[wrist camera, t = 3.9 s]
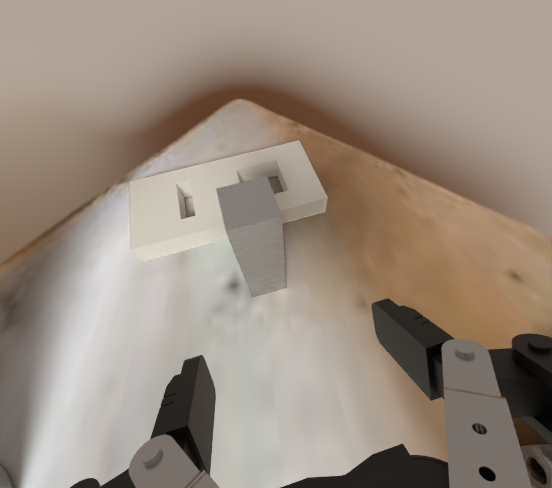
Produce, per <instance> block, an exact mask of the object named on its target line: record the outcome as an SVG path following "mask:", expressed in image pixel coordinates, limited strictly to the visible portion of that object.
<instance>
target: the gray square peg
mask: <svg viewBox="0 0 552 488" xmlns="http://www.w3.org/2000/svg"><path fill="white" fill-rule="evenodd" d="M216 191H217V195H218V199H219V204H220V208H221V212H222V217H223V221H224V225H225V230H226V233H227V235H228V238H229V240H230V243H231V245H232V248H233V250H234V253H235V255H236V258H237V260H238V263H239V265H240V268H241V270H242V273H243V275H244V278H245V280H246V283H247V285H248V288H249V290H250V293H251V295H252V298H253V297H256V296H260V295H263V294H266V293H270V292H273V291H277V290H280V289H283V288H286V274H285V257H284V241H283V224H282V215H281V212H280V209H279V207H278V204H277V201H276V199H275V196H274V193H273V190H272V188H271V185H270V182H269V180H268V177H267V176H264V177H260V178H256V179H252V180H248V181H244V182H240V183H236V184H232V185H228V186H224V187H220V188H216Z"/></svg>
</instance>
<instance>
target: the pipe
mask: <svg viewBox="0 0 552 488" xmlns="http://www.w3.org/2000/svg"><path fill="white" fill-rule="evenodd" d="M520 448H521V452H522V455H523V459H524V462H525V465H526V469H527V472H528V476H529V479H530V483H531V486H532V487H533V488H552V446H551V445H550V444H542V445H523V446H520Z"/></svg>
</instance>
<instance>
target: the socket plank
mask: <svg viewBox="0 0 552 488" xmlns="http://www.w3.org/2000/svg"><path fill="white" fill-rule="evenodd" d="M264 176H267V177H268V178H270V177H274V176H278V179H279V181H280V184H281V186H282V189H283V192H279V193H276V194H274V196H275V199H276V201H277V204H278V207H279V209H280V212H281V215H282V224H284V223H288V222H291V221H295V220H299V219H302V218H306V217H310V216H314V215H317V214H321V213H325V211H326V205H327V199H328V197H327V195H326V193H325V191H324V189H323V187H322V185H321V183H320V181H319V179H318V177H317V175H316V173H315V171H314V169H313V167H312V165H311V163H310V161H309V159H308V157H307V155H306V153H305V151H304V149H303V147H302V145H301V143H300V141H299V140H298V141H294V142H290V143H286V144H282V145H278V146H273V147H269V148H265V149H261V150H257V151H253V152H249V153H245V154H240V155H236V156H232V157H228V158H224V159H220V160H216V161H212V162H207V163H203V164H199V165H195V166H191V167H187V168H183V169H179V170H174V171H170V172H166V173H162V174H158V175H154V176H150V177H146V178H141V179H137V180H133V181H129V203H130V250H131V251H132V252H133V253H134V254H135V255H136V256H137V257H138V258H139V259H140V260H142V261H143V262H144V261H147V260H151V259H155V258H158V257H162V256H166V255H169V254H173V253H177V252H180V251H184V250H188V249H192V248H195V247H199V246H203V245H206V244H210V243H214V242H217V241H221V240H225V239H229V238H228V235H227V233H226V230H225V225H224V221H223V217H222V212H221V208H220V204H219V199H218V195H217V191H216V188H220V187H224V186H228V185H232V184H236V183H240V182H244V181H248V180H252V179H256V178H260V177H264ZM191 196H192V198H193V204H194V210H195V215H196V216H192V217H188V218H187V215H186V209H185V202H184V198H187V197H191Z"/></svg>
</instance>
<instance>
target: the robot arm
mask: <svg viewBox="0 0 552 488" xmlns="http://www.w3.org/2000/svg"><path fill="white" fill-rule="evenodd" d="M372 313H373V319H374V325H375V331H376V335H377V338H378V340H379V342H380V343H381V345H382V346H383V347H384V348H385V349H386V351H387V352H388V353H389V354H390V355H391V356H392V357H393V358H394V360H395V361H396V362H397V363H398V364H399V365H400V366H401V367H402V369H403V370H404V371H405V372H406V373H407V374H408V375H409V376H410V378H411V379H412V380H413V381H414V382H415V383H416V384H417V385H418V387H419V388H420V389H421V390H422V391H423V392H424V393H425V394H426V396H427V397H428V398H429V399H430V400H431V401H432V400H434V399H437V398H440V397H442V398H443V399H444V403H445V420H446V436H447V453H448V463H447V462H445V461H442V460H439V459H436V458H433V457H428V456H421V455H410V454H409V453H408V451H407V450H406V448H405V446H404V445H403V444H400V445H398V446H395V447H392V448H389V449H387V450H384V451H381V452H378V453H376V454H373V455H371V456H370V457H369V458H367V459H366V460H365V461H363V462H362V463H361V464H359V465H358V466H357V467H355V468H354V469H353V470H351V471H350V472H349V473H347V474H346V475H343V476H330V477H313V478H306V479H303V480H301V481H298V482H295V483H292V484H290V485H287V486H284V487H281V488H532V486H531V483H530V479H529V476H528V472H527V469H526V465H525V462H524V459H523V455H522V452H521V448H520V445H519V441H518V438H517V434H516V431H515V427H514V424H513V421H512V417H520V418H521V419H522V420H524V421H525V422H526V423H527V424H528V425H529V426H530V427H531V428H532V429H534V430H535V431H536V432H537V433H538V434H539V435H540V436H541V437H542V438H543V439H545V440H546V441H547V442H548V443H549V444H550V445H551V446H552V338H550V337H547V336H543V335H538V334H521V335H517V336H515V337H514V338H513V339H512V348H508V349H492V350H487V349H486V348H485V347H483V346H482V345H480V344H479V343H476V342H474V341H471V340H466V339H454V338H453V337H452V336H450V335H449V334H448V333H446V332H445V331H443V330H442V329H441V328H439V327H438V326H436V325H435V324H434V323H432V322H430V320H428V319H427V318H425V317H423V315H421V314H420V313H419V312H417V311H416V310H414V309H412V308H409V307H406V306H398V305H396V304H395V303H394V302H393V301H391V300H390V299H384V300H381V301H378V302H375V303H372ZM215 399H216V395H215V387H214V383H213V381H212V378H211V375H210V372H209V370H208V367H207V364H206V362H205V359H204V357H203V356H202V355H200V356H197V357H193V358H190V359H187V360H185V361H184V363H183V367H182V371H181V374H179V375H175V376H174V377H173V378H172V380H171V381H170V383H169V384H168V385H167V387H166V390H165V394H164V399H163V400H162V403H161V408H160V410H159V413H158V416H157V419H156V422H155V426H154V429H153V432H152V435H151V438H150V440H149V441H148V442H146V443H145V444H144V445H143V446H142V447H141V448H140V449H139V450H138V451H137V452H136V454H135V455H134V457H133V458H132V461H131V463H130V466H129V469H127V470H126V471H125V472H123V473H122V474H120V475H118V476H117V477H115V478H114V479H112V480H110V481H109V482H107V483H106V484H104V485H102V486H100V484H99V482H98V481H97V480H96V479H94V478H88V479H84V480H82V481H80V482H78V483H76V484H74V485H73V486H72V487H70V488H219V486H218V485H217V484H216V483H215V482H214V481H213V479H212V478H211V477H210V466H211V453H212V439H213V426H214V413H215ZM0 488H12V483H11V481H10V478H9V476H8V474H7V472H6V471H5V470H4V469H3V467H2V466H0Z"/></svg>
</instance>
